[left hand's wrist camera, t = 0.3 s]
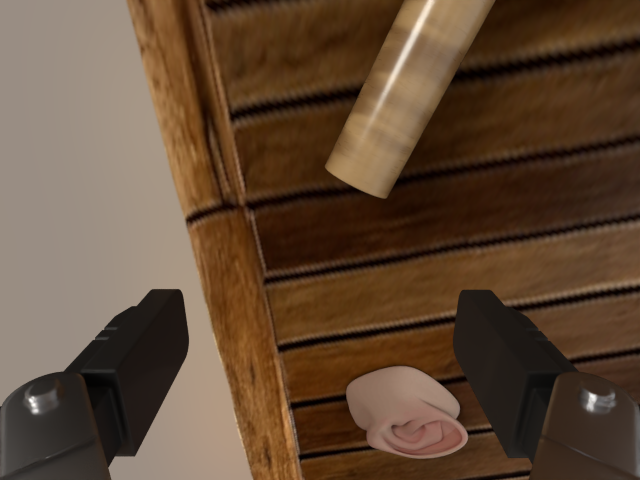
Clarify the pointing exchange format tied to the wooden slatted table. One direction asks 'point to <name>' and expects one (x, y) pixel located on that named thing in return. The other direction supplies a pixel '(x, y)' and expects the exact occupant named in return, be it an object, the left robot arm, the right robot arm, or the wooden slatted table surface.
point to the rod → (404, 90)
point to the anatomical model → (406, 413)
